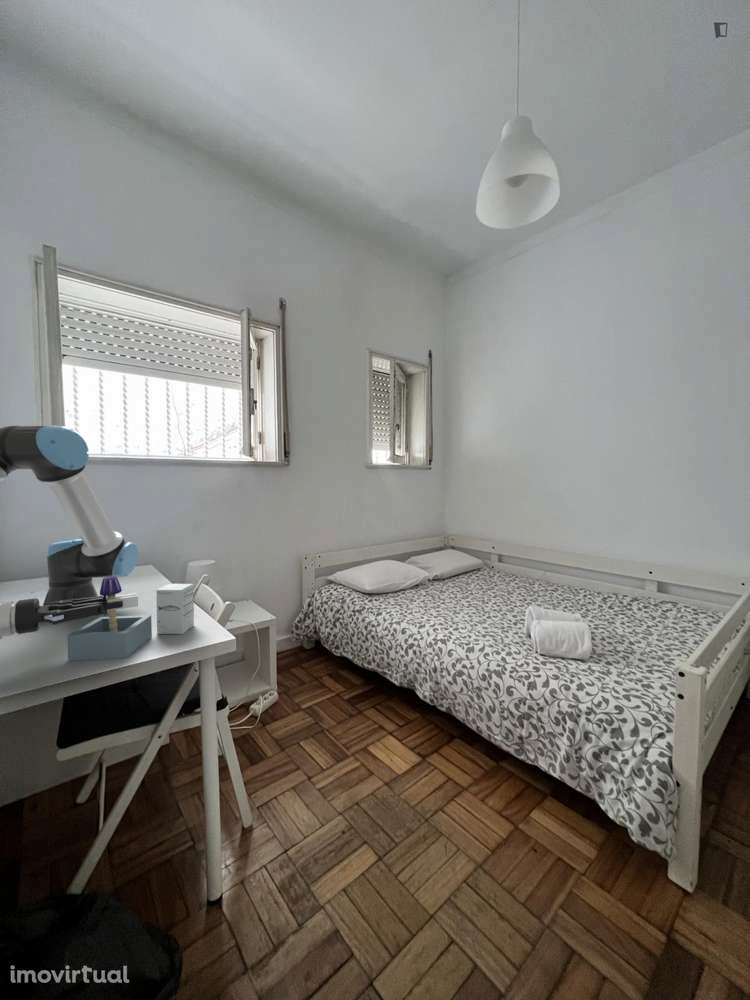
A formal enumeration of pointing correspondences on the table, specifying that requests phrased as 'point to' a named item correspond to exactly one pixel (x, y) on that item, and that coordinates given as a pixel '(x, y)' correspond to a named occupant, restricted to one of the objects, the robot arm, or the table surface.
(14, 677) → the table surface
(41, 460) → the robot arm
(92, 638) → the blue-gray open box
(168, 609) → the supplement box
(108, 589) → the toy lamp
